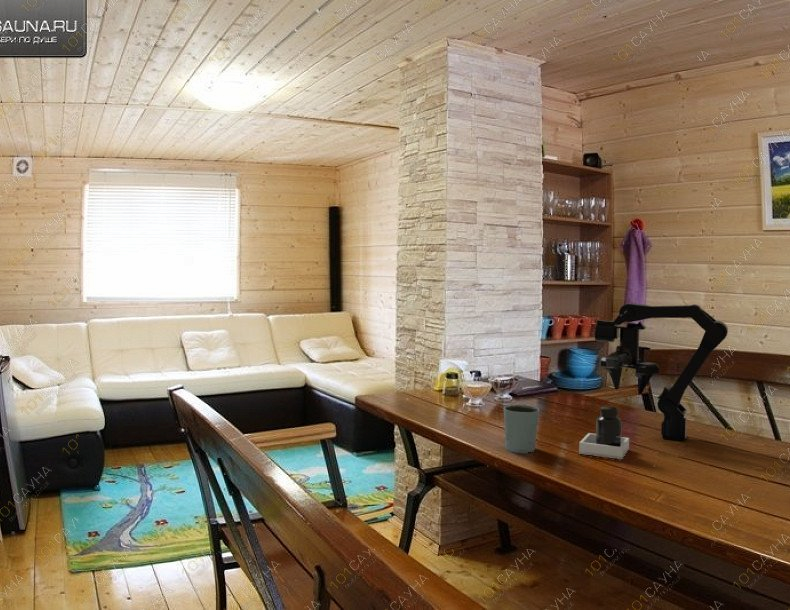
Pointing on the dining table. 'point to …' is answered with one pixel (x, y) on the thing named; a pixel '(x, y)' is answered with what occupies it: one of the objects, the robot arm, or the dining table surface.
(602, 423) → the supplement bottle
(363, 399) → the dining table surface
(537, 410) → the grey-green cup
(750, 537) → the dining table surface
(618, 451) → the tray
